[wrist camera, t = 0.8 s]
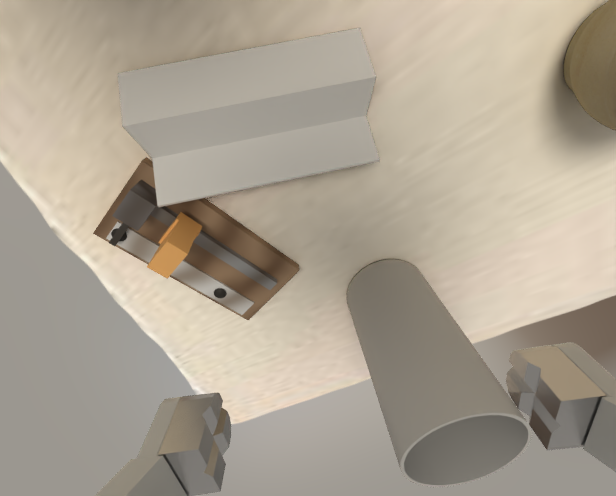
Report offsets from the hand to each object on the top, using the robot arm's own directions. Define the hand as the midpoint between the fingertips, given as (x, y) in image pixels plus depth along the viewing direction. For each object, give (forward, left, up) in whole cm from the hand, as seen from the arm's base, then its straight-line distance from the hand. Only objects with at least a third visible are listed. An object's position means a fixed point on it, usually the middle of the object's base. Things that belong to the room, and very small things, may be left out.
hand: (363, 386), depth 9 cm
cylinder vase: (+27, -8, -34) cm, 44 cm away
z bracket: (-5, -1, -34) cm, 34 cm away
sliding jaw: (-3, -19, -32) cm, 37 cm away
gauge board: (+1, -19, -34) cm, 39 cm away
